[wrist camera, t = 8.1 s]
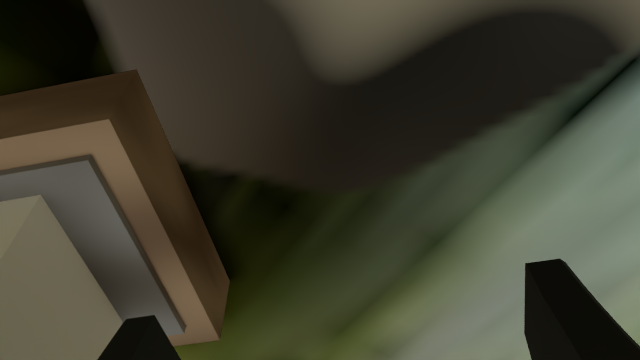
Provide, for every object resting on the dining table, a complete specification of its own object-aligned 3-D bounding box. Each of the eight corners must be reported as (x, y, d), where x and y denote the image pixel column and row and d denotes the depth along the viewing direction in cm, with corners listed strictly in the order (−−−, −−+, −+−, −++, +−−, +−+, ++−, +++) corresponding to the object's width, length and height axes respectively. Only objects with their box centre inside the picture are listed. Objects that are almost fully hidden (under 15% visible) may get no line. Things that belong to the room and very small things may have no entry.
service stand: (229, 280, 24) (218, 346, 22) (12, 312, 26) (-23, 378, 23) (136, 69, 18) (105, 124, 16) (-141, 123, 20) (-212, 183, 17)
